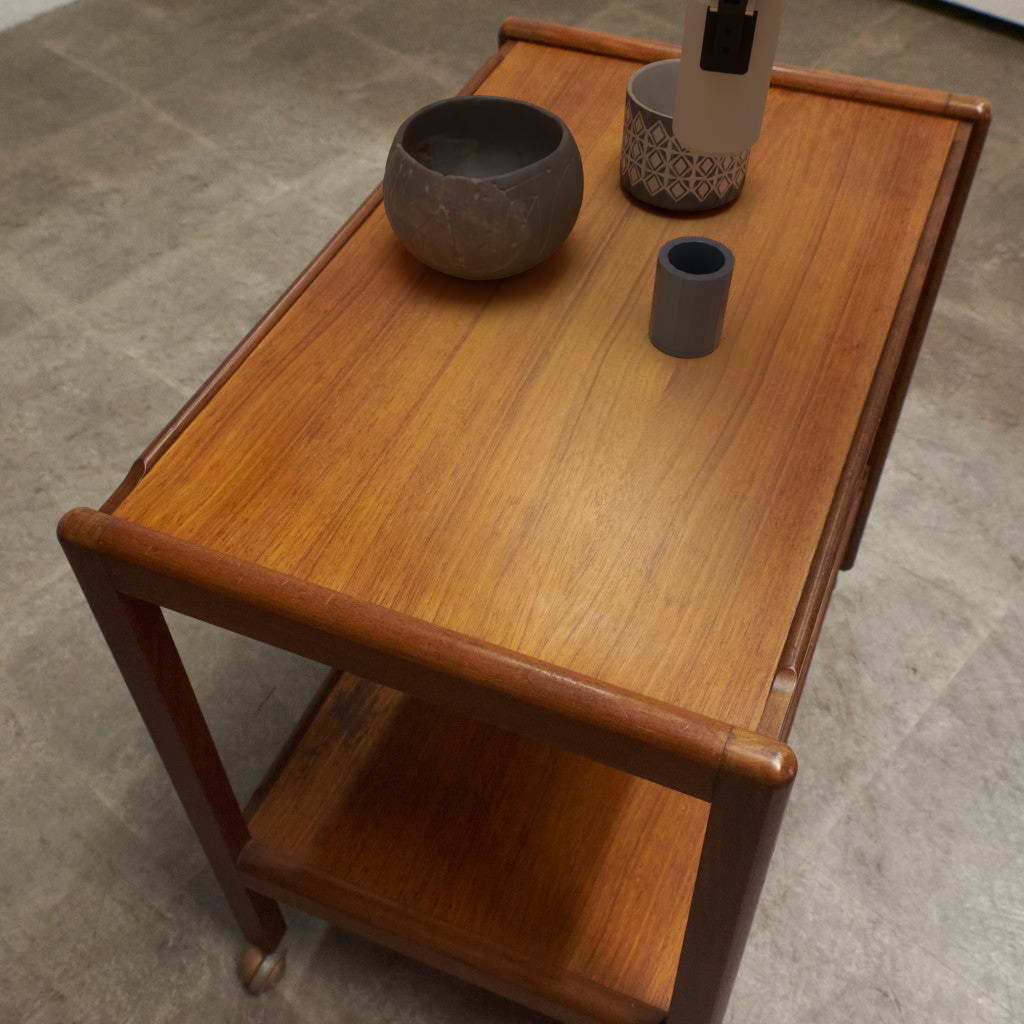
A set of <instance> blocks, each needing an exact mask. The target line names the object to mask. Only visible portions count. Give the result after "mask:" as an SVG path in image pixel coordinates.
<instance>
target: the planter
mask: <svg viewBox="0 0 1024 1024" xmlns="http://www.w3.org/2000/svg"><path fill="white" fill-rule="evenodd" d="M680 59H681V57H678V58H668V59H662V60H658V61H653V62H650V63H648V64H646V65H643V66H641V67H639V68H638V69H636V70H635V71H634V72H633V73H632V74H631V75H630V76H629V78H628V79H627V82H626V91H625V101H624V102H625V103H624V112H623V113H624V115H623V127H622V138H621V149H620V161H619V162H620V163H619V172H618V173H619V179H620V181H621V183H622V185H623V187H624V188H625V190H626V191H627V192H628V193H629V194H631V195H632V196H633V197H635V198H636V199H638V200H639V201H641V202H643V203H645V204H648V205H650V206H654V207H656V208H661V209H665V210H669V211H678V212H701V211H707V210H713V209H715V208H718V207H722V206H724V205H726V204H728V203H730V202H732V201H733V200H734V199H735V198H737V197H738V196H739V195H740V194H741V192H742V191H743V189H744V187H745V183H746V179H747V172H748V167H749V161H750V156H751V151H752V147H750V148H749V149H747V150H744V151H743V152H741V153H739V154H737V155H734V156H730V157H723V158H713V157H705V156H700V155H697V154H694V153H692V152H690V151H688V150H687V149H685V148H684V147H683V146H682V144H681V143H680V142H679V141H678V140H677V139H676V137H675V136H674V134H673V130H672V123H673V115H674V107H675V99H676V91H677V83H678V75H679V67H680Z"/></svg>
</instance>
